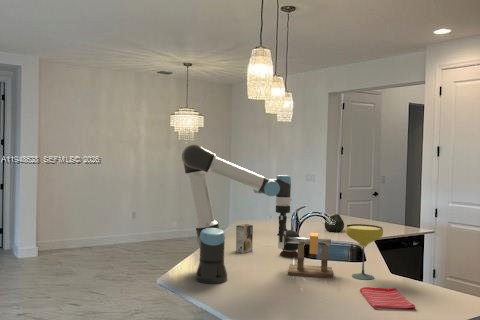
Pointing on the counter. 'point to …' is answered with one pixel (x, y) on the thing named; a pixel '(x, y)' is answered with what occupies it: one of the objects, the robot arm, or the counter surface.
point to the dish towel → (386, 299)
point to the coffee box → (244, 238)
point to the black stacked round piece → (290, 245)
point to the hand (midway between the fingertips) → (282, 245)
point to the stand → (311, 270)
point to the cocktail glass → (363, 241)
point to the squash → (337, 226)
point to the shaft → (305, 240)
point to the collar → (313, 243)
